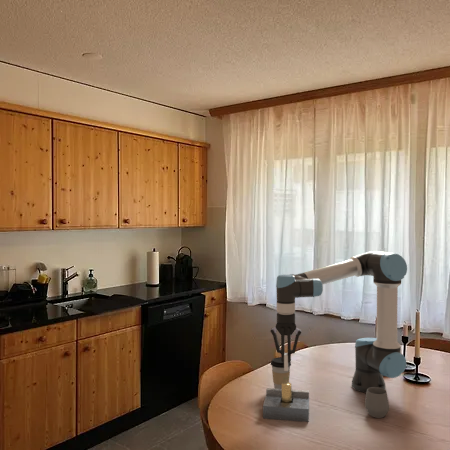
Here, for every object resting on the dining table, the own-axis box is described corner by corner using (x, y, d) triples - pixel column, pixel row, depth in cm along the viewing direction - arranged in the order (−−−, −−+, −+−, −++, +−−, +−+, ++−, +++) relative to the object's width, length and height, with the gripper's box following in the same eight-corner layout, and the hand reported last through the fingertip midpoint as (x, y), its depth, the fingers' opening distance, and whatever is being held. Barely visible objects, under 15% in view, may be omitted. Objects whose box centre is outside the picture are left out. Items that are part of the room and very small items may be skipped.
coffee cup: (290, 397, 200) (290, 363, 200) (269, 395, 202) (269, 362, 202) (291, 389, 210) (291, 357, 209) (271, 387, 211) (271, 356, 211)
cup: (386, 422, 175) (386, 397, 174) (362, 417, 180) (361, 392, 179) (391, 413, 183) (391, 389, 183) (368, 408, 188) (368, 384, 187)
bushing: (291, 411, 186) (291, 382, 186) (291, 415, 182) (291, 386, 182) (282, 410, 187) (282, 381, 186) (281, 414, 183) (281, 385, 182)
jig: (309, 407, 190) (309, 390, 189) (308, 421, 176) (308, 404, 176) (266, 404, 193) (266, 387, 193) (263, 418, 179) (262, 400, 179)
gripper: (302, 311, 186) (302, 367, 187) (270, 310, 189) (271, 365, 189) (301, 315, 179) (301, 373, 179) (269, 314, 181) (269, 371, 182)
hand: (286, 369), depth 184 cm, fingers closed
